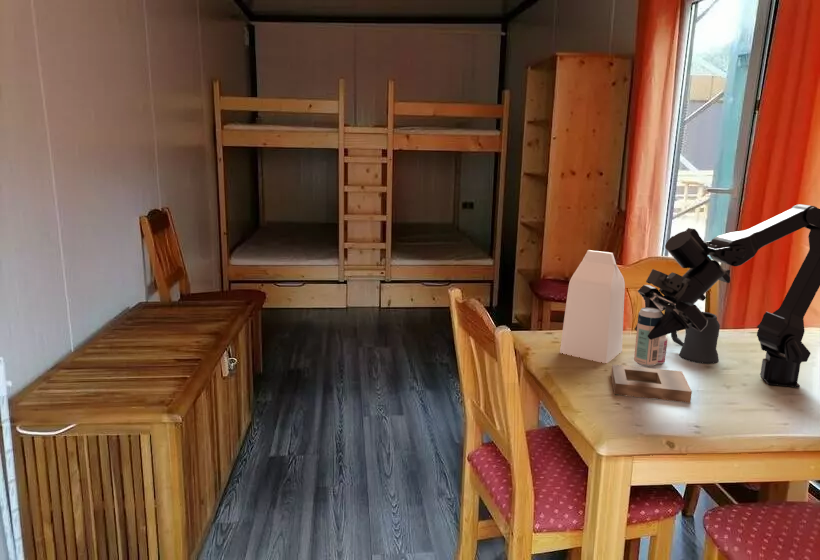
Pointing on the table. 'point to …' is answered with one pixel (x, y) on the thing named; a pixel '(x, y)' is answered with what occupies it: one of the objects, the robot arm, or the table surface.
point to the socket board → (650, 383)
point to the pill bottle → (662, 349)
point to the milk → (594, 309)
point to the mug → (700, 342)
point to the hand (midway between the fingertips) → (642, 334)
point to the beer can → (644, 346)
